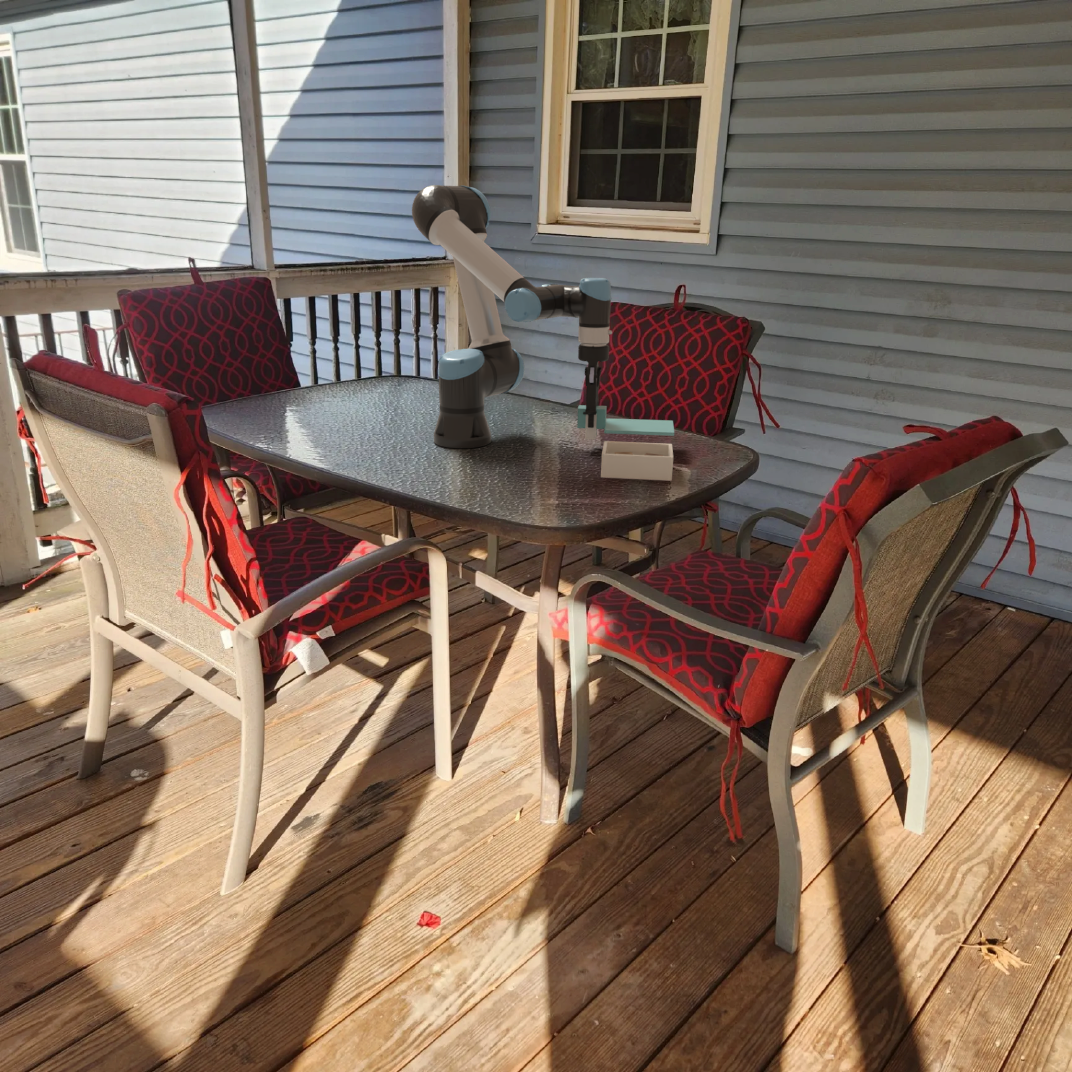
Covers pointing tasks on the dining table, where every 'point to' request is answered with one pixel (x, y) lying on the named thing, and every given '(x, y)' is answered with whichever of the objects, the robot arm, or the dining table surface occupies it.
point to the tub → (637, 461)
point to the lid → (626, 424)
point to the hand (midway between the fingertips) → (591, 437)
